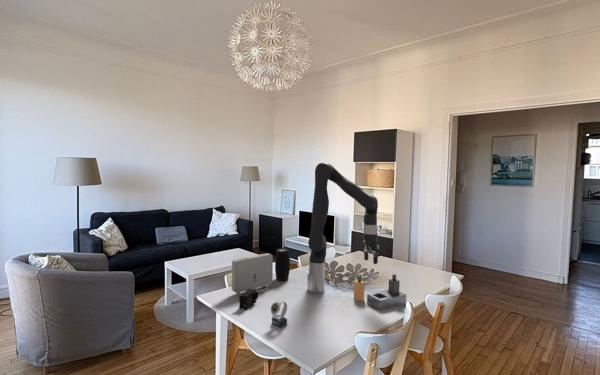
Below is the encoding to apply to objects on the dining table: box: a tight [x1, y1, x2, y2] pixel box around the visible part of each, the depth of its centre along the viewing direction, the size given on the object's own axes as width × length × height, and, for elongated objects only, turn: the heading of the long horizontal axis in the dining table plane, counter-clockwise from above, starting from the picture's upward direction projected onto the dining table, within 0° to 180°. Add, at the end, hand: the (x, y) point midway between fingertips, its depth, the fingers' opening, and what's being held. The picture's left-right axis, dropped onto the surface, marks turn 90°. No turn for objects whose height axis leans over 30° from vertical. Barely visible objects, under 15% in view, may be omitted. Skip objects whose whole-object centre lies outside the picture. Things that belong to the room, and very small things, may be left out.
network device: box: [231, 253, 274, 296], centre depth 192 cm, size 26×9×20 cm, turn 131°
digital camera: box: [238, 289, 259, 311], centre depth 171 cm, size 10×5×7 cm, turn 160°
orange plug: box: [353, 275, 366, 302], centre depth 182 cm, size 4×4×13 cm
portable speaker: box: [274, 247, 291, 282], centre depth 212 cm, size 9×9×20 cm
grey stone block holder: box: [366, 289, 407, 311], centre depth 177 cm, size 19×10×5 cm, turn 119°
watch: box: [270, 299, 288, 329], centre depth 151 cm, size 6×8×11 cm
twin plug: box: [387, 273, 400, 295], centre depth 179 cm, size 4×4×13 cm
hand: (370, 261), depth 180 cm, fingers open, 8 cm apart
